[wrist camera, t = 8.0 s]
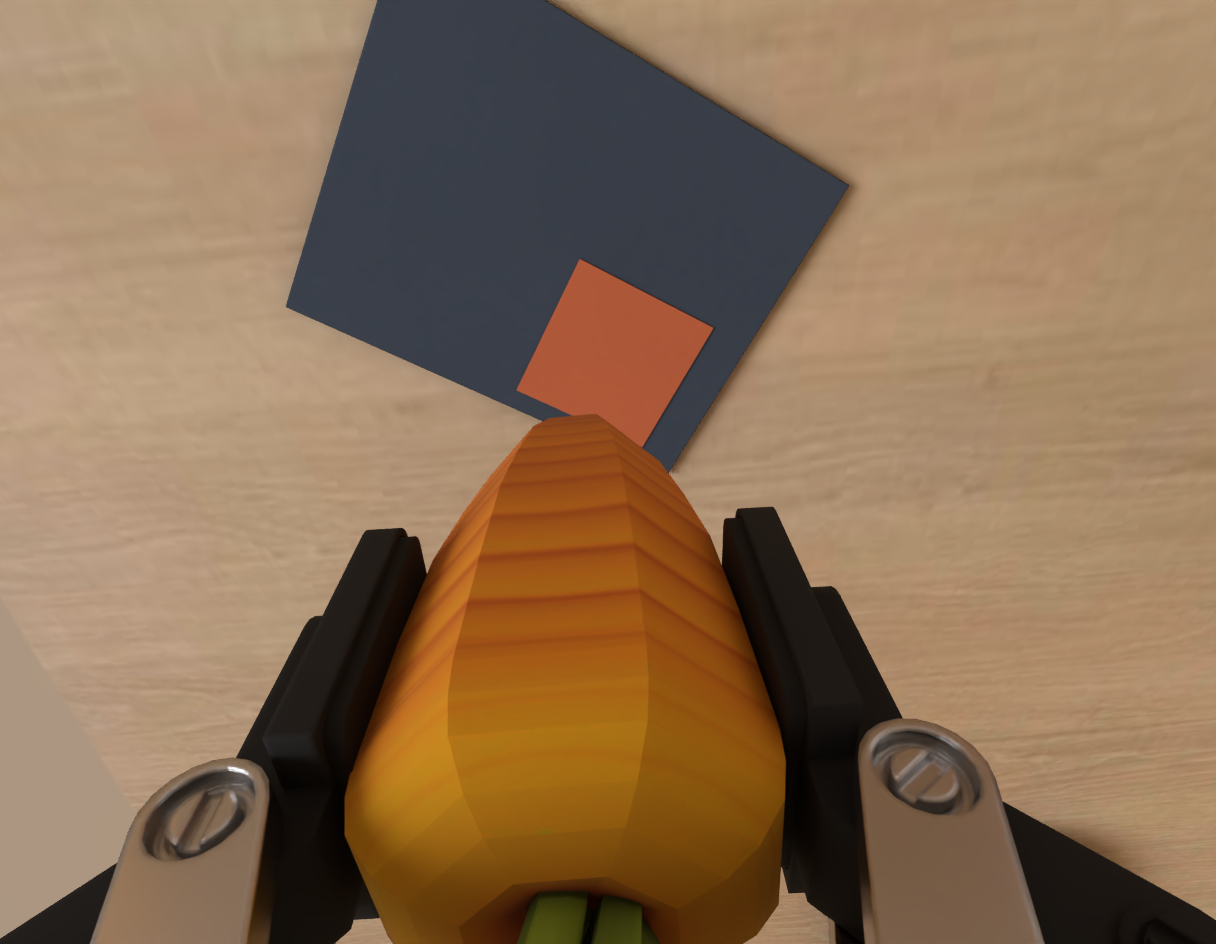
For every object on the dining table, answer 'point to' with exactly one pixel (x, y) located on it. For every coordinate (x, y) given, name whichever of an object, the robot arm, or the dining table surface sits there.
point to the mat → (552, 218)
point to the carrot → (572, 721)
